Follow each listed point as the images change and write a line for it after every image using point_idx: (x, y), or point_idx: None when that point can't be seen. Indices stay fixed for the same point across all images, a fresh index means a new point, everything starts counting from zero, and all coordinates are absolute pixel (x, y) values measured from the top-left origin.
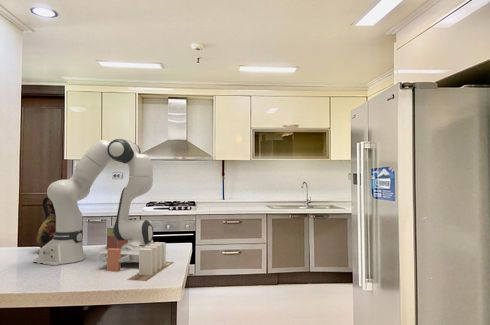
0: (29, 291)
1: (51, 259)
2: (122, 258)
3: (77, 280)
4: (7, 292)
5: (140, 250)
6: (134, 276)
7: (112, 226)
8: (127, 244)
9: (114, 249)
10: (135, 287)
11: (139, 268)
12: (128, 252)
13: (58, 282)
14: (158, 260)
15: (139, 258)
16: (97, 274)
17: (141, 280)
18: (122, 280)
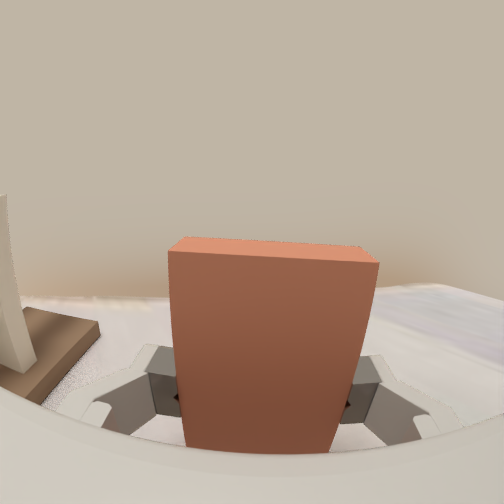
0: (402, 289)
1: None
2: (139, 355)
3: (375, 351)
4: (437, 284)
5: (1, 202)
6: (61, 346)
7: None
8: None
9: (249, 240)
10: (69, 306)
11: (24, 325)
12: (64, 486)
13: (418, 329)
14: None
15: (10, 260)
16: (367, 433)
17: (41, 311)
18: (126, 360)
